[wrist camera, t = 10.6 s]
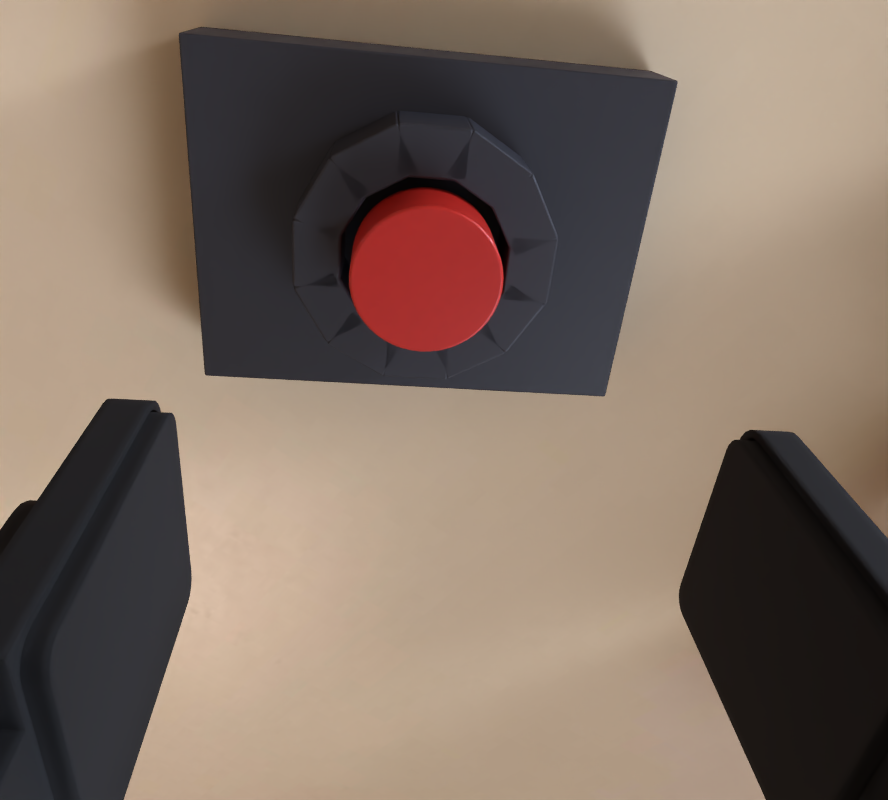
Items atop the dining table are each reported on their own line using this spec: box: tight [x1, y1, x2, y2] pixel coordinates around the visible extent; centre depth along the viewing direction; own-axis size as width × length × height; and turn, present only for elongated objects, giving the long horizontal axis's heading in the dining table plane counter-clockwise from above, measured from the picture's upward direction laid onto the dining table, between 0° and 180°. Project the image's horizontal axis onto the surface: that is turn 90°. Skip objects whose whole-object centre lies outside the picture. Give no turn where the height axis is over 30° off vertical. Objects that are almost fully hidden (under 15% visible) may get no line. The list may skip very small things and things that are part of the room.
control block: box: [179, 27, 677, 396], centre depth 20 cm, size 12×9×4 cm
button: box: [349, 187, 503, 352], centre depth 18 cm, size 4×4×2 cm
